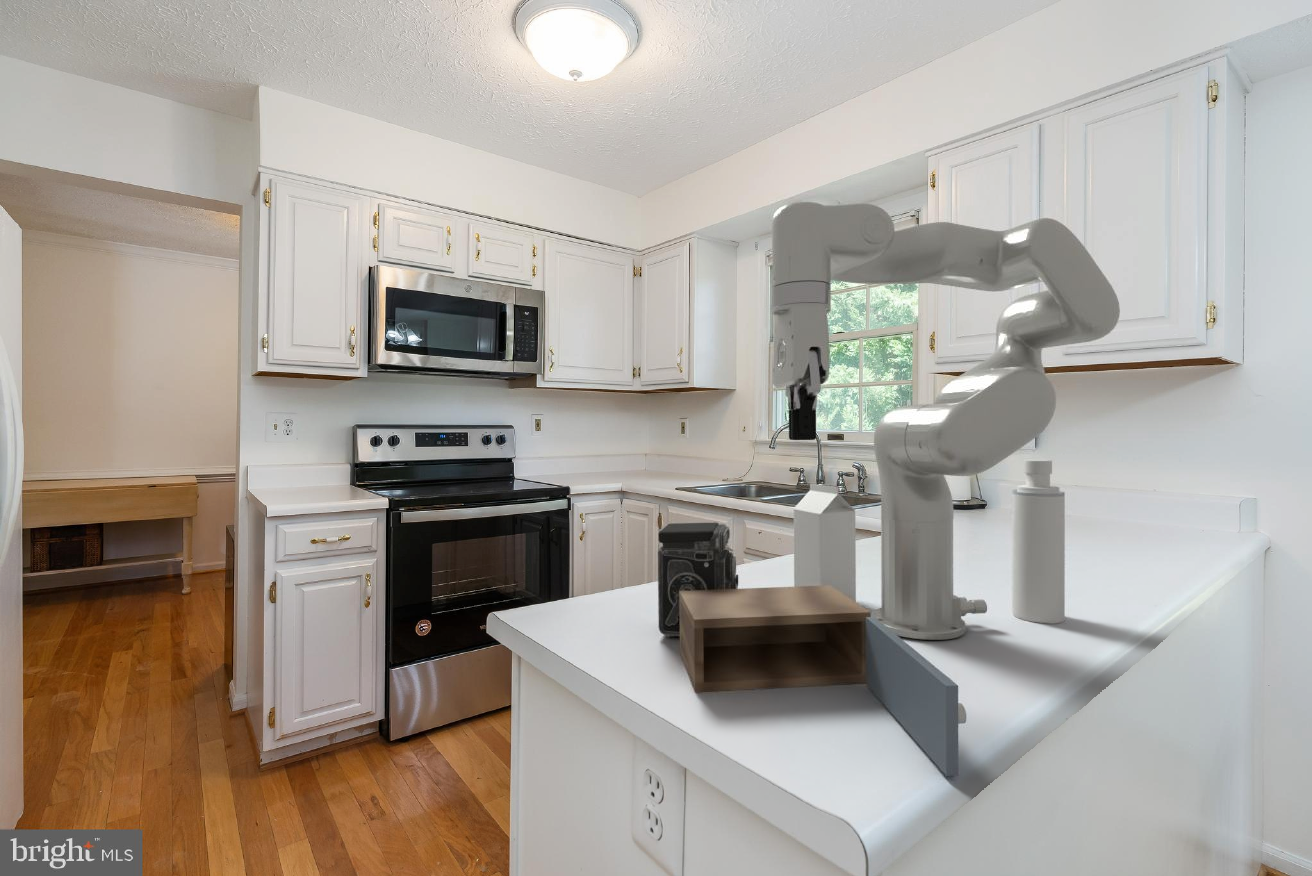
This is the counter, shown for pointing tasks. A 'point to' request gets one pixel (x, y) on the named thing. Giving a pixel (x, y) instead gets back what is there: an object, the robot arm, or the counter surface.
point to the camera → (691, 566)
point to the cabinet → (772, 638)
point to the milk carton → (825, 541)
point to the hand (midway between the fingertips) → (802, 439)
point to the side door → (915, 694)
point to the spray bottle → (1038, 547)
